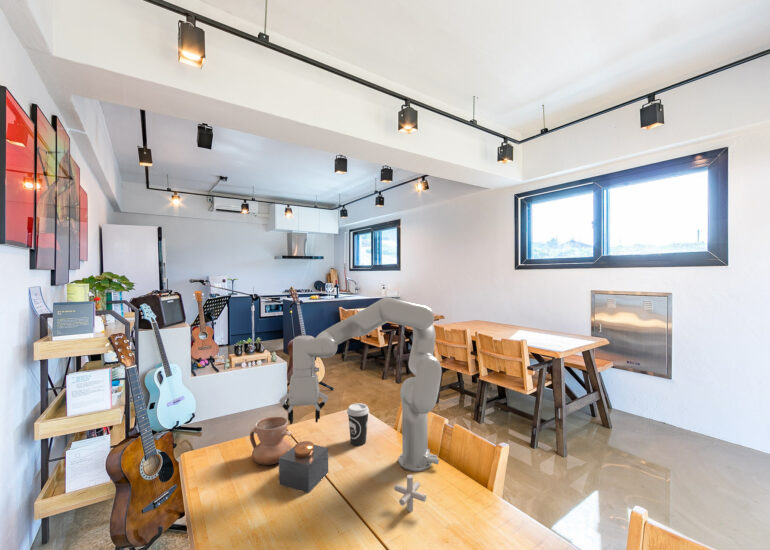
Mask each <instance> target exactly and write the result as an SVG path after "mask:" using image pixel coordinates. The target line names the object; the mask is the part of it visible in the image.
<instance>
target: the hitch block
mask: <svg viewBox="0 0 770 550" xmlns="http://www.w3.org/2000/svg"><path fill="white" fill-rule="evenodd" d="M327 473H328V474H329V447H326V446H322V445H321V446H320V445H317V444H314V452H313V454H312V455H311V456H309V457H305V458H299V457H296V456H295V445H294V446H292V448H291V449H290V450H289V451H288V452H286V453H285V454H284V455H282V456H281V457H280V458H279V463H278V485H279V486H282V487H286V488H290V489H293V490H296V491H301V492H304V493H306V494H310V492H312V491H313V490H314V488H315V487H316V486H318V484H319V483H320V482H321V481H322V480H323V479H324V478H325V477H326V476H327V475H328V474H327ZM326 474H327V475H326ZM324 476H325V477H324ZM323 477H324V478H323ZM321 479H322V480H321Z"/></svg>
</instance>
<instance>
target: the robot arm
mask: <svg viewBox="0 0 770 550" xmlns="http://www.w3.org/2000/svg"><path fill="white" fill-rule="evenodd" d="M388 322H389V323H391V324H396V325H399V326H403V327H408V328H411V330H412V335H413V336H412V344H411V349H410V353H409V359H408V368H409V371H410V372H411V373H412V374H413V375H414V376H411V377H409V378H406V379H405V380H404V381H403V382H402V384H401V387H400V401H401V411H402V412H401V413H402V414H401V415H402V417H401V419H402V421H401V422H402V424H401V428H402V430H401V431H402V434H401V435H402V441H401V442H402V449H401V450H402V452H401V453H400V455H399V456H398V461H397V463H398V465H399V466H400V467H401V468H403V469H404V470H407V471H410V472H423V471H426V470H428V469H429V468H430V467H431V466H432V464H435V465H439V461H440V459H439V458H438V455H437V454H432V453H431V452H430V451H431V449H430V448H429V447H428V440H429V439H428V423H429V422H428V420H429V419H428V413H431V412H432V410H434V408H435V406H436V403H437V401H438V395H439V391H440V386H441V385H440V384H441V379H442V375H443V374H442V372H443V371H442V365H441V363H440V361H439V359H438V358H437V357H435V356H434V354H435V353H434V352H435V351H434V350H435V347H436V346H435V345H436V336H437V335H436V329H435V326H434V322H435V313H434V311H433V309H431V308H430V307H428V306H427V305H424V304H419V303H413V302H409V301H405V300H403V299H397V298H394V297H391V296H387V297H383V298H380V299H379V300H377V301H375V302H374V303H372V304H371V305H369V306H367V307H366V308H364V309H362V310H360V311H359V312H356V313H355V314H354V315H351V316H349V317H347V318H346V319H343V320H340V321H339V322H337V323H335V324H332V325H331V326H330V327H328V328H326V329H325V330H322V331H321V332H320V333H318V335H317V336H316V337H313V336H312V335H298V336H295V337H294V338H293V340H292V375H290V381H289V389H288V393H286V394H285V395H284V396H282V397H281V398H280V399H279V400H278V402H279V404H280V405H281V406H282V407H283V409H284V410H285V411H286V412H287V416H288V417H287V419H288V422H289V425H292V424H293V422H294V410H293V409H294V407H299V406H301V407H302V406H303V407H304V406H313V407H315V415H314V416H315V423H319V422H318V421H319V420H320V418H321V409H323V407H324V406H325V404H326V403H327V402H328V400H329V396H328V395H327V394H325V393H323V392H322V391H320V385H319V384H320V383H319V377H318V372H320V367H317V366H316V358H320V359H321V358H322V359H328V358H331V357H333V356H335V354H336V353H337V351H338V345H340V344H342V343H343V342H346V341H347V340H350V339H353V338H357V337H363V336H366V335H368V334H370V333H372V332H373V331H375V330H376V329H378V328H379V327H382V326H383V325H385V324H387V323H388ZM320 398H321V399H322V401H321V402H319V399H320ZM287 400H288V403H287V402H286V401H287Z"/></svg>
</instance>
